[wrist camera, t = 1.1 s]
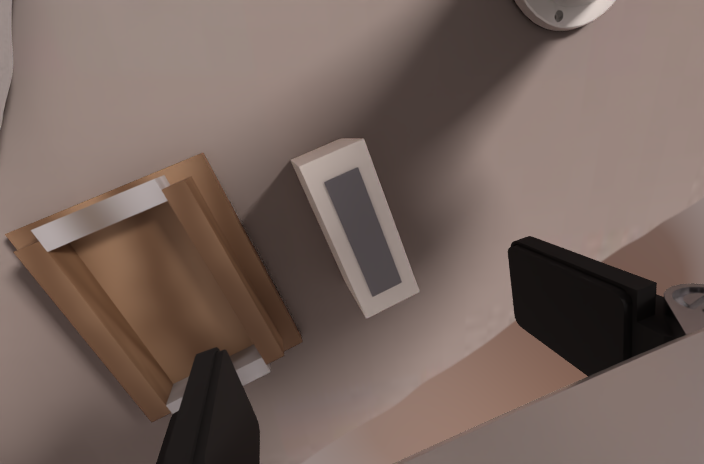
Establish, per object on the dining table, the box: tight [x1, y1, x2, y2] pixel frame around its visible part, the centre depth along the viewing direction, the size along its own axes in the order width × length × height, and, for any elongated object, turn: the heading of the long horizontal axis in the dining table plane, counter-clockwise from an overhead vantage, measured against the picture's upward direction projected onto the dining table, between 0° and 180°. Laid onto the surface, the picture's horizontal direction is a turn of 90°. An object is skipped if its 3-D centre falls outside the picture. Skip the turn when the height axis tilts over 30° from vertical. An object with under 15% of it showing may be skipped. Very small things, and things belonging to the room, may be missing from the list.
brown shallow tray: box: [5, 153, 302, 422], centre depth 27 cm, size 14×18×4 cm
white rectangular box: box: [290, 138, 420, 319], centre depth 27 cm, size 4×12×7 cm, turn 22°
